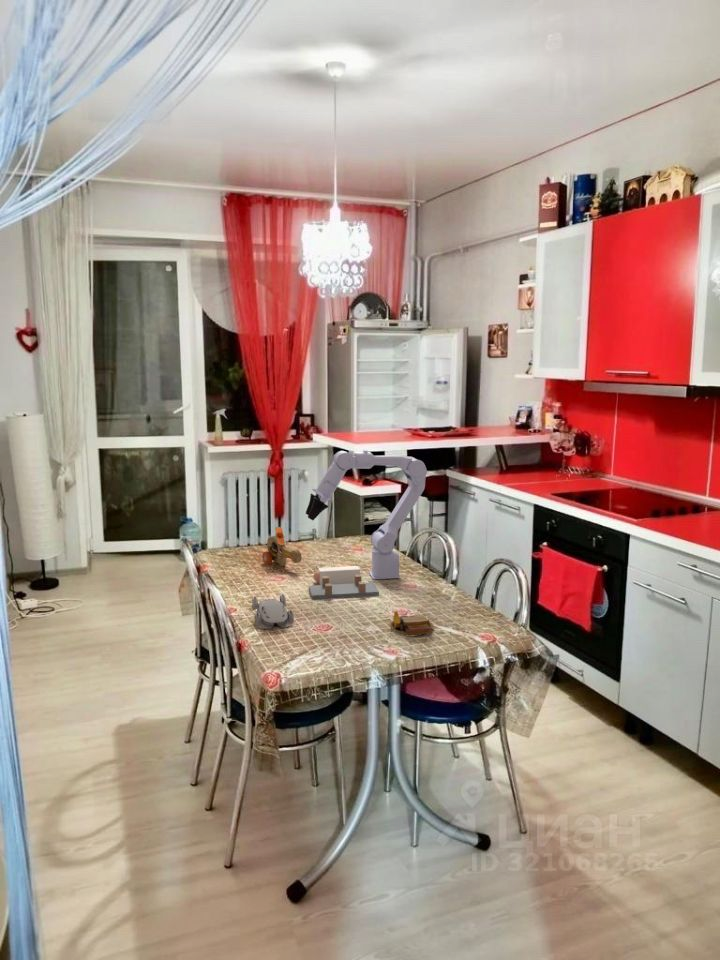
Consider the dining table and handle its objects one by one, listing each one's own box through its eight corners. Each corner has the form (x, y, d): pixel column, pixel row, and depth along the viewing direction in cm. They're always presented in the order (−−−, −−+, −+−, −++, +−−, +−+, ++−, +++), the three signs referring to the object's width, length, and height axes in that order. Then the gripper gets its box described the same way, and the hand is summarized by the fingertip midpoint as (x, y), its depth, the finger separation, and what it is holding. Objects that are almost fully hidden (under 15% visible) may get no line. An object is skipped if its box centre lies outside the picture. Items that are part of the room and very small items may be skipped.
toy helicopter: (278, 558, 278) (278, 523, 276) (309, 571, 263) (309, 534, 260) (260, 562, 273) (259, 527, 271) (290, 575, 258) (290, 538, 255)
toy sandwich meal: (431, 621, 215) (431, 605, 214) (435, 638, 202) (435, 622, 201) (389, 621, 215) (389, 605, 214) (390, 639, 202) (390, 622, 201)
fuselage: (358, 579, 253) (358, 565, 253) (360, 583, 250) (360, 569, 249) (312, 582, 251) (312, 568, 250) (314, 585, 247) (313, 571, 246)
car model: (285, 602, 231) (285, 587, 230) (296, 631, 208) (296, 614, 207) (250, 605, 229) (250, 590, 228) (257, 634, 205) (257, 617, 204)
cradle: (373, 585, 246) (373, 573, 246) (379, 595, 236) (379, 583, 236) (309, 588, 243) (308, 577, 242) (312, 599, 233) (311, 586, 232)
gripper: (317, 474, 252) (297, 507, 253) (322, 479, 238) (301, 514, 239) (334, 484, 254) (314, 517, 254) (340, 490, 240) (319, 525, 240)
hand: (309, 516), depth 246 cm, fingers open, 7 cm apart
